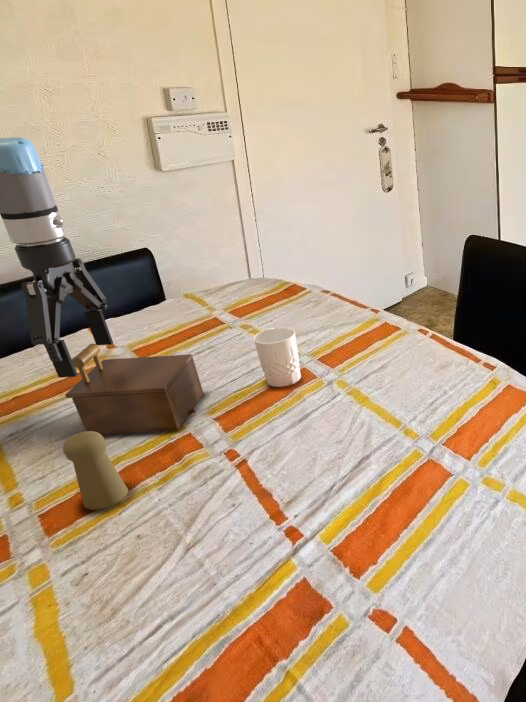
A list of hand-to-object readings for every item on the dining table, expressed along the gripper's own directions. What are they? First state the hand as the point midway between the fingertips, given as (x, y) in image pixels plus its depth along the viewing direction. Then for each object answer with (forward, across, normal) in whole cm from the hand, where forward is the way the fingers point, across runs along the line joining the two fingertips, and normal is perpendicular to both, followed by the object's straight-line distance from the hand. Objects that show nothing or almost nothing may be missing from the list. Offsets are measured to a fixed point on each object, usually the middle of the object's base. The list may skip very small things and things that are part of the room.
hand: (87, 359), depth 111 cm
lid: (+4, 0, -7) cm, 8 cm away
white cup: (+12, +10, -30) cm, 34 cm away
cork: (+12, -25, -11) cm, 30 cm away
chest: (+12, 0, -7) cm, 14 cm away
